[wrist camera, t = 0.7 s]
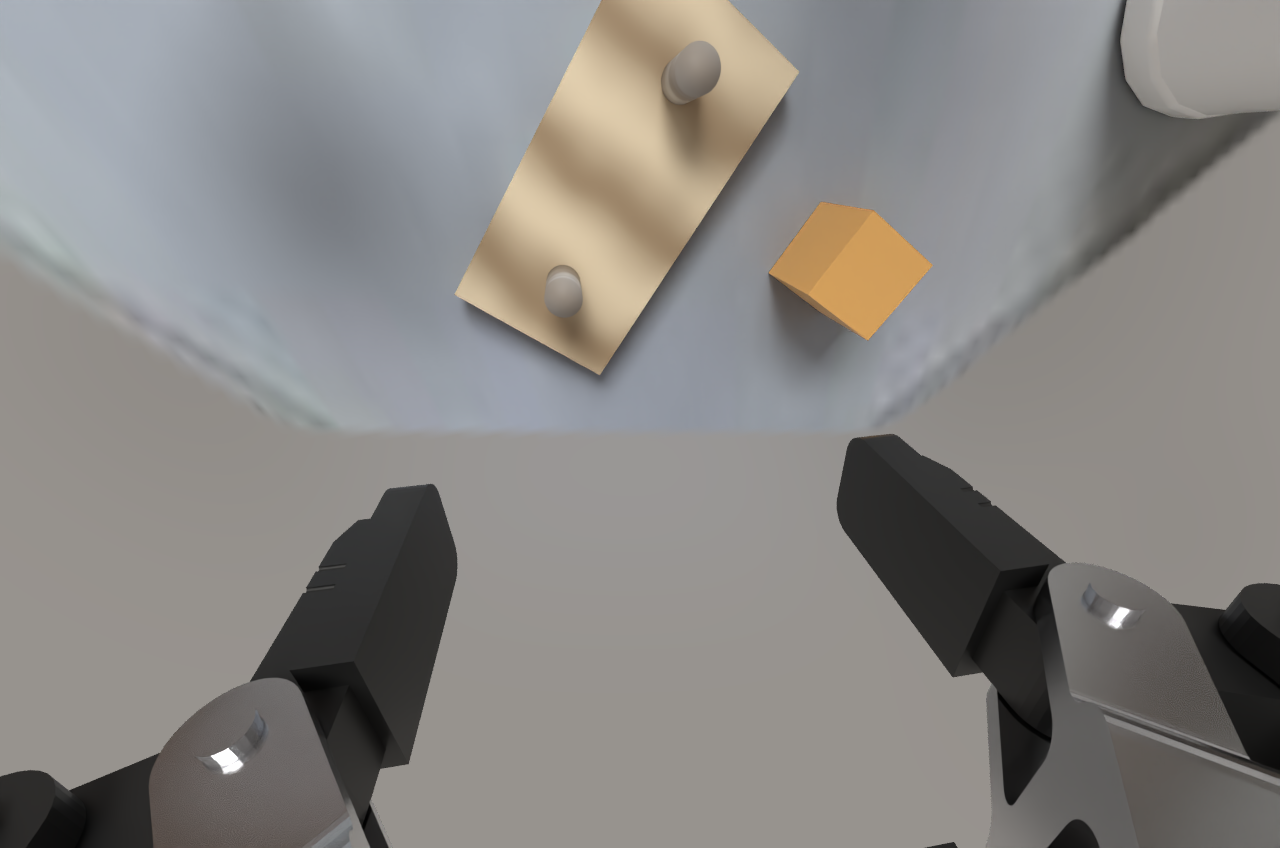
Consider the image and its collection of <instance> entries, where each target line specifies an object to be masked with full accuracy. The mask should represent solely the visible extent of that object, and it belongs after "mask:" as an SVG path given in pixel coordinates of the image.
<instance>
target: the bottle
mask: <svg viewBox="0 0 1280 848" xmlns="http://www.w3.org/2000/svg"><path fill="white" fill-rule="evenodd" d="M1120 44H1121V51H1122V58H1123V66H1124V73H1125V80H1126V81H1127V83H1128V84H1129V86H1130V87H1131V89H1132V90H1133V92H1134V93H1135V95H1136V96H1137V98H1138V99H1139V101H1140V102H1141V104H1142V105H1143V106H1145V107H1147V108H1150V109H1153V110H1155V111H1158V112H1160V113H1163V114H1165V115H1168V116H1171V117H1177V118H1188V119H1202V118H1210V117H1217V116H1224V115H1231V114H1236V113H1250V112H1266V111H1280V0H1127V3H1126V9H1125V15H1124V20H1123V26H1122V32H1121V38H1120Z"/></svg>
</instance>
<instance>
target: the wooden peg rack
mask: <svg viewBox="0 0 1280 848" xmlns="http://www.w3.org/2000/svg"><path fill="white" fill-rule="evenodd" d="M798 73H799V71H798V70H797V69H796V68H795V67H794V66H793V65H792V64H791V63H790V62H789V61H788V60H787V59H786V58H785V57H784V56H783V55H782V54H781V53H780V52H779V51H778V50H777V49H776V48H775V47H774V46H773V45H772V44H771V43H770V42H769V41H768V40H767V39H766V38H765V37H764V36H763V35H762V34H761V33H760V32H759V31H758V30H757V29H756V28H755V27H754V26H753V25H752V24H751V23H750V22H749V21H748V20H747V19H746V18H745V17H744V16H743V15H742V14H741V13H740V12H739V11H738V10H737V9H736V8H735V7H734V6H733V5H732V4H731V3H730V2H729V1H728V0H602V1H601V3H600V5H599V7H598V9H597V11H596V13H595V15H594V17H593V19H592V21H591V23H590V25H589V27H588V29H587V31H586V33H585V35H584V37H583V39H582V41H581V43H580V45H579V47H578V49H577V51H576V53H575V55H574V57H573V59H572V61H571V63H570V65H569V67H568V69H567V71H566V73H565V75H564V77H563V79H562V81H561V83H560V85H559V87H558V89H557V91H556V93H555V95H554V97H553V99H552V101H551V103H550V105H549V107H548V109H547V111H546V113H545V115H544V117H543V119H542V121H541V123H540V125H539V127H538V129H537V131H536V133H535V135H534V137H533V139H532V141H531V143H530V145H529V147H528V149H527V151H526V153H525V155H524V157H523V159H522V161H521V163H520V165H519V167H518V169H517V171H516V173H515V175H514V177H513V179H512V181H511V183H510V185H509V187H508V189H507V191H506V193H505V195H504V197H503V199H502V201H501V203H500V205H499V207H498V209H497V211H496V213H495V215H494V217H493V219H492V221H491V223H490V225H489V227H488V229H487V231H486V233H485V235H484V237H483V239H482V241H481V243H480V245H479V247H478V249H477V251H476V253H475V255H474V257H473V259H472V261H471V263H470V265H469V267H468V269H467V271H466V273H465V275H464V277H463V279H462V281H461V283H460V285H459V287H458V289H457V291H456V293H455V295H456V296H458V297H460V298H461V299H463V300H465V301H467V302H469V303H470V304H472V305H474V306H476V307H478V308H479V309H481V310H483V311H485V312H487V313H488V314H490V315H492V316H494V317H496V318H497V319H499V320H501V321H503V322H505V323H506V324H508V325H510V326H512V327H514V328H515V329H517V330H519V331H521V332H523V333H524V334H526V335H528V336H530V337H532V338H533V339H535V340H537V341H539V342H541V343H542V344H544V345H546V346H548V347H550V348H552V349H553V350H555V351H557V352H559V353H561V354H562V355H564V356H566V357H568V358H570V359H571V360H573V361H575V362H577V363H579V364H580V365H582V366H584V367H586V368H588V369H589V370H591V371H593V372H595V373H597V374H598V375H600V374H601V372H602V371H603V369H604V368H605V366H606V365H607V363H608V362H609V360H610V359H611V357H612V356H613V354H614V353H615V351H616V350H617V348H618V347H619V345H620V344H621V342H622V341H623V339H624V337H625V336H626V334H627V333H628V331H629V330H630V328H631V327H632V325H633V324H634V322H635V321H636V319H637V318H638V316H639V315H640V313H641V312H642V310H643V309H644V307H645V306H646V304H647V303H648V301H649V299H650V298H651V296H652V295H653V293H654V292H655V290H656V289H657V287H658V286H659V284H660V283H661V281H662V280H663V278H664V277H665V275H666V274H667V272H668V271H669V269H670V268H671V266H672V265H673V263H674V262H675V260H676V258H677V257H678V255H679V254H680V252H681V251H682V249H683V248H684V246H685V245H686V243H687V242H688V240H689V239H690V237H691V236H692V234H693V233H694V231H695V230H696V228H697V227H698V225H699V224H700V222H701V221H702V219H703V217H704V216H705V214H706V213H707V211H708V210H709V208H710V207H711V205H712V204H713V202H714V201H715V199H716V198H717V196H718V195H719V193H720V192H721V190H722V189H723V187H724V186H725V184H726V183H727V181H728V179H729V178H730V176H731V175H732V173H733V172H734V170H735V169H736V167H737V166H738V164H739V163H740V161H741V160H742V158H743V157H744V155H745V154H746V152H747V151H748V149H749V148H750V146H751V145H752V143H753V142H754V140H755V138H756V137H757V135H758V134H759V132H760V131H761V129H762V128H763V126H764V125H765V123H766V122H767V120H768V119H769V117H770V116H771V114H772V113H773V111H774V110H775V108H776V107H777V105H778V104H779V102H780V101H781V99H782V97H783V96H784V94H785V93H786V91H787V90H788V88H789V87H790V85H791V84H792V82H793V81H794V79H795V78H796V76H797V75H798Z"/></svg>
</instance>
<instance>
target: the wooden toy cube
mask: <svg viewBox="0 0 1280 848" xmlns="http://www.w3.org/2000/svg"><path fill="white" fill-rule="evenodd" d="M932 266H933V265H932V264H931V263H930V262H929V261H928V260H927V259H926V258H924V257H923V256H922V255H921V254H920V253H919V252H918V251H917V250H916V249H915V248H914V247H913V246H912V245H911V244H909V243H908V242H907V241H906V240H905V239H904V238H903V237H902V236H901V235H900V234H899V233H898V232H897V231H895V230H894V229H893V228H892V227H891V226H890V225H889V224H888V223H887V222H886V221H885V220H884V219H883V218H881V217H880V216H879V215H878V214H877V213H876V212H875V211H874V210H869V209H862V208H856V207H850V206H844V205H838V204H831V203H825V202H820V204H819V205H818V206H817V208H816V209H815V211H814V212H813V213H812V215H811V216H810V217H809V219H808V220H807V221H806V223H805V224H804V225H803V227H802V228H801V230H800V231H799V232H798V234H797V235H796V236H795V238H794V239H793V240H792V242H791V243H790V244H789V246H788V247H787V248H786V250H785V251H784V253H783V254H782V255H781V257H780V258H779V259H778V261H777V262H776V263H775V265H774V266H773V267H772V269H771V270H770V272H769V274H771V275H772V276H773V277H774V278H776V279H777V280H778V281H780V282H781V283H782V284H784V285H785V286H786V287H788V288H789V289H790V290H792V291H793V292H794V293H795V294H797V295H798V296H799V297H801V298H802V299H803V300H805V301H806V302H807V303H809V304H810V305H811V306H813V307H814V308H815V309H817V310H818V311H819V312H820V313H822V314H824V315H825V316H827V317H829V318H830V319H832V320H834V321H835V322H837V323H839V324H840V325H842V326H844V327H846V328H847V329H849V330H851V331H852V332H854V333H856V334H857V335H859V336H861V337H862V338H864V339H866V340H867V341H868V340H869V339H870V338H871V336H872V335H873V334H874V333H875V332H876V331H877V329H878V328H879V327H880V326H881V325H882V324H883V322H884V321H885V320H886V319H887V318H888V317H889V315H890V314H891V313H892V312H893V311H894V310H895V309H896V307H897V306H898V305H899V304H900V303H901V302H902V300H903V299H904V298H905V297H906V296H907V295H908V293H909V292H910V291H911V290H912V289H913V288H914V286H915V285H916V284H917V283H918V282H919V281H920V280H921V278H922V277H923V276H924V275H925V274H926V273H927V271H928V270H929V269H930V268H931V267H932Z"/></svg>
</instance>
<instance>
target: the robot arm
mask: <svg viewBox="0 0 1280 848" xmlns="http://www.w3.org/2000/svg"><path fill="white" fill-rule="evenodd" d="M837 513H838V517H839V521H840V523H841V525H842V528H843V529H844V531H845V533H846V534H847V535H848V536H849V538H850V539H851V540H852V542H853V543H854V545H855V546H856V547H857V549H858V550H859V551H860V553H861V554H862V555H863V557H864V558H865V559H866V561H867V562H868V564H869V565H870V566H871V568H872V569H873V570H874V572H875V573H876V574H877V576H878V577H879V578H880V580H881V581H882V582H883V584H884V585H885V586H886V588H887V589H888V590H889V592H890V593H891V595H892V596H893V597H894V599H895V600H896V601H897V603H898V604H899V605H900V607H901V608H902V609H903V611H904V612H905V613H906V615H907V616H908V617H909V619H910V620H911V622H912V623H913V624H914V625H915V627H916V628H917V629H918V631H919V632H920V634H921V635H922V636H923V638H924V639H925V640H926V642H927V643H928V644H929V646H930V647H931V649H932V650H933V651H934V653H935V654H936V655H937V657H938V658H939V659H940V661H941V662H942V663H943V665H944V666H945V667H946V669H947V670H948V672H949V673H950V674H951V676H952V677H957V676H963V675H969V674H975V673H981V672H983V673H984V674H985V676H986V677H987V678H988V679H989V680H990V682H991V683H992V684H991V686H990V688H989V690H988V692H987V698H986V702H987V723H988V744H989V764H990V783H991V804H992V817H991V827H990V833H989V837H988V840H987V844H986V848H1280V585H1278V584H1268V583H1264V584H1262V583H1261V584H1260V583H1259V584H1252V585H1249V586H1246V587H1244V588H1243V589H1242V591H1241V592H1240V593H1239V594H1238V596H1237V597H1236V598H1235V599H1234V600H1233V602H1232V603H1231V604H1230V605H1229V607H1228V608H1227V609H1226V610H1221V609H1213V608H1205V607H1196V606H1188V605H1179V604H1172V603H1170V602H1169V601H1167V600H1166V599H1165V598H1164V597H1162V596H1161V595H1160V594H1159V593H1157V592H1156V591H1154V590H1153V589H1151V588H1150V587H1148V586H1146V585H1145V584H1143V583H1141V582H1139V581H1137V580H1136V579H1133V578H1131V577H1129V576H1127V575H1125V574H1122V573H1119V572H1117V571H1114V570H1112V569H1108V568H1105V567H1101V566H1097V565H1093V564H1086V563H1065V562H1064V561H1063V560H1062V559H1060V558H1059V557H1058V556H1057V555H1056V554H1054V553H1053V552H1052V551H1051V550H1049V549H1048V548H1047V547H1046V546H1045V545H1043V544H1042V543H1041V542H1039V541H1038V540H1037V539H1036V538H1035V537H1033V536H1032V535H1031V534H1030V533H1029V532H1027V531H1026V530H1025V529H1024V528H1023V527H1021V526H1020V525H1019V524H1018V523H1016V522H1015V521H1014V520H1013V519H1012V518H1010V517H1009V516H1008V515H1007V514H1005V513H1004V512H1003V511H1002V510H1000V509H999V508H998V507H997V506H992V505H991V501H989V500H988V499H987V498H986V497H984V496H983V495H982V494H981V493H980V492H978V491H977V490H976V491H974V490H973V487H972V486H971V485H970V484H968V483H967V482H966V481H965V480H964V479H962V478H961V477H960V476H959V475H958V474H956V473H955V472H954V471H952V470H951V469H949V468H948V467H945V466H943V465H941V464H939V463H937V462H935V461H933V460H931V459H929V458H927V457H925V456H921V455H920V454H919V453H917V452H916V451H915V450H914V449H913V448H911V447H910V446H909V445H908V444H907V443H905V442H904V441H903V440H902V439H901V438H900V437H898V436H897V435H894V434H886V435H877V436H868V437H859V438H854V439H852V440H851V441H850V443H849V445H848V447H847V451H846V457H845V462H844V467H843V472H842V477H841V482H840V487H839V492H838V497H837ZM456 576H457V553H456V547H455V544H454V541H453V537H452V534H451V531H450V528H449V524H448V521H447V518H446V515H445V511H444V508H443V505H442V502H441V498H440V496H439V493H438V490H437V488H436V487H435V486H434V485H433V484H426V485H417V486H409V487H400V488H390V489H388V490H387V491H386V492H385V493H384V495H383V497H382V498H381V500H380V502H379V504H378V506H377V508H376V510H375V512H374V513H373V515H372V517H371V519H364V520H358V521H357V522H356V523H354V524H353V525H352V526H351V527H350V528H349V529H348V530H347V531H346V532H344V533H343V534H342V535H341V536H340V537H339V538H338V539H337V540H335V541H334V542H333V544H332V546H331V547H330V549H329V551H328V552H327V554H326V556H325V557H324V559H323V561H322V562H321V564H320V566H319V571H318V572H315V574H314V576H313V577H312V579H311V581H310V583H309V584H308V586H307V587H306V588H307V592H306V593H303V594H302V596H301V597H300V599H299V601H298V602H297V604H296V606H295V607H294V609H293V611H292V612H291V614H290V616H289V618H288V619H287V621H286V622H285V624H284V626H283V628H282V629H281V631H280V632H279V634H278V636H277V638H276V639H275V641H274V643H273V644H272V646H271V647H270V649H269V651H268V653H267V654H266V656H265V658H264V659H263V661H262V662H261V664H260V666H259V668H258V669H257V671H256V672H255V674H254V676H253V677H252V679H251V681H250V682H248V683H246V684H243V685H241V686H238V687H236V688H233V689H231V690H230V691H228V692H226V693H224V694H222V695H220V696H219V697H217V698H215V699H214V700H212V701H211V702H209V703H208V704H206V705H205V706H204V707H202V708H201V709H200V710H198V711H197V712H196V713H195V714H194V715H193V716H191V717H190V718H189V719H188V720H187V721H186V722H185V723H184V724H183V725H182V726H181V727H180V728H179V729H178V730H177V731H176V732H175V733H174V734H173V736H172V737H171V738H170V740H169V741H168V742H167V743H166V745H165V746H164V748H163V749H162V751H161V752H160V753H158V754H156V755H154V756H151V757H149V758H146V759H144V760H142V761H139V762H137V763H134V764H132V765H130V766H127V767H125V768H122V769H120V770H118V771H115V772H113V773H110V774H108V775H105V776H103V777H101V778H98V779H96V780H93V781H91V782H89V783H86V784H84V785H82V786H79V787H76V788H74V789H72V790H68V789H66V788H65V787H64V786H63V785H61V784H60V783H59V782H57V781H56V780H55V779H54V778H52V777H51V776H50V775H49V774H47V773H44V772H41V771H33V770H28V771H20V772H15V773H11V774H8V775H4V776H1V777H0V848H393V847H392V844H391V842H390V840H389V838H388V835H387V833H386V831H385V828H384V826H383V824H382V821H381V819H380V817H379V815H378V812H377V810H376V808H375V806H374V804H373V802H372V800H371V797H372V794H373V790H374V786H375V783H376V780H377V777H378V774H379V770H380V769H381V768H387V767H394V766H399V765H405V764H409V760H410V756H411V752H412V749H413V744H414V741H415V737H416V733H417V729H418V725H419V721H420V718H421V713H422V710H423V706H424V702H425V698H426V694H427V690H428V686H429V683H430V678H431V674H432V671H433V667H434V663H435V659H436V655H437V651H438V648H439V644H440V640H441V636H442V632H443V628H444V624H445V620H446V617H447V613H448V609H449V605H450V601H451V597H452V593H453V589H454V586H455V581H456ZM927 848H957V846H956V844H955V843H954V842H952V843H947V844H942V845H937V846H932V847H927Z"/></svg>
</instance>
